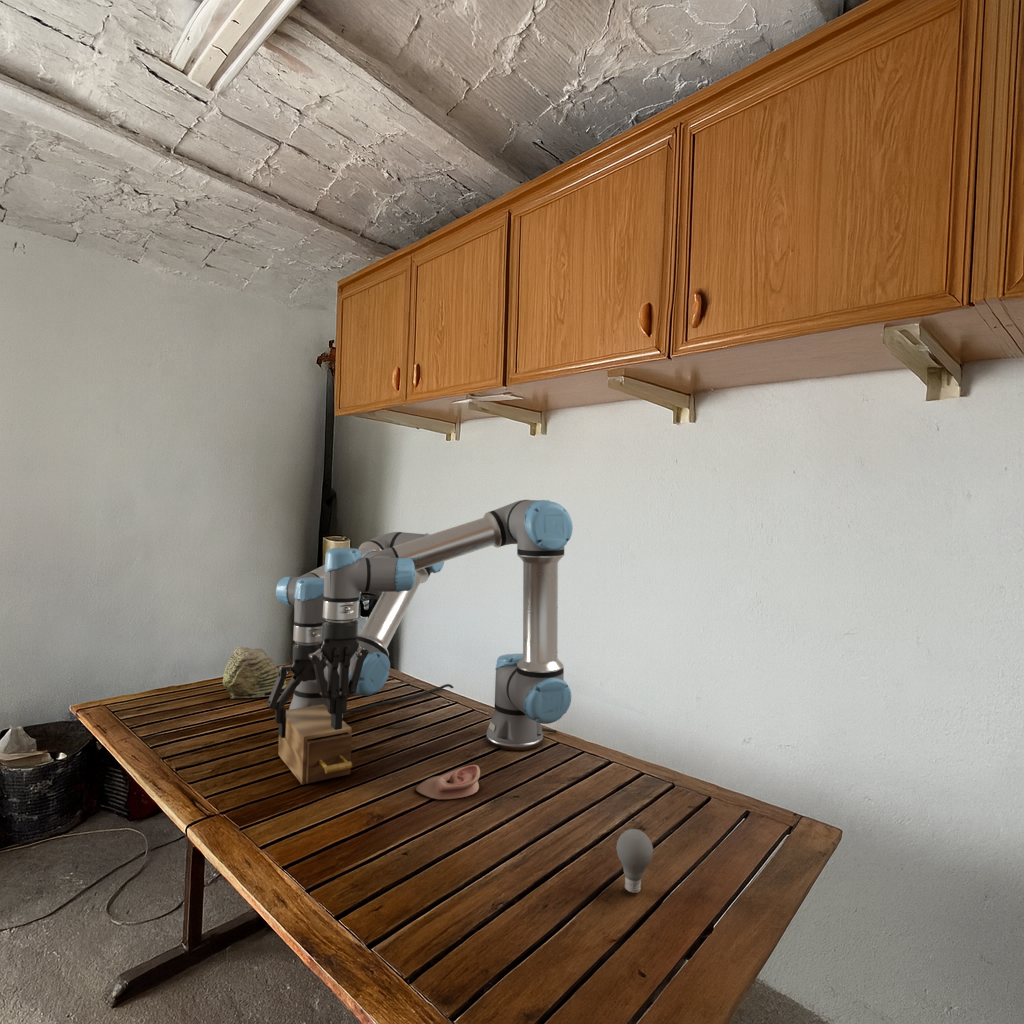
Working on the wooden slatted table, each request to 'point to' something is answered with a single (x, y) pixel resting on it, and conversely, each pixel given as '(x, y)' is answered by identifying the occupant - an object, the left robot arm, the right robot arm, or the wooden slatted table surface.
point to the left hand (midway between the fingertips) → (306, 731)
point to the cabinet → (305, 736)
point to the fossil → (250, 674)
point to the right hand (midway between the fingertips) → (336, 727)
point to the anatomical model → (452, 784)
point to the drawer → (328, 757)
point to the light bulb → (634, 857)
